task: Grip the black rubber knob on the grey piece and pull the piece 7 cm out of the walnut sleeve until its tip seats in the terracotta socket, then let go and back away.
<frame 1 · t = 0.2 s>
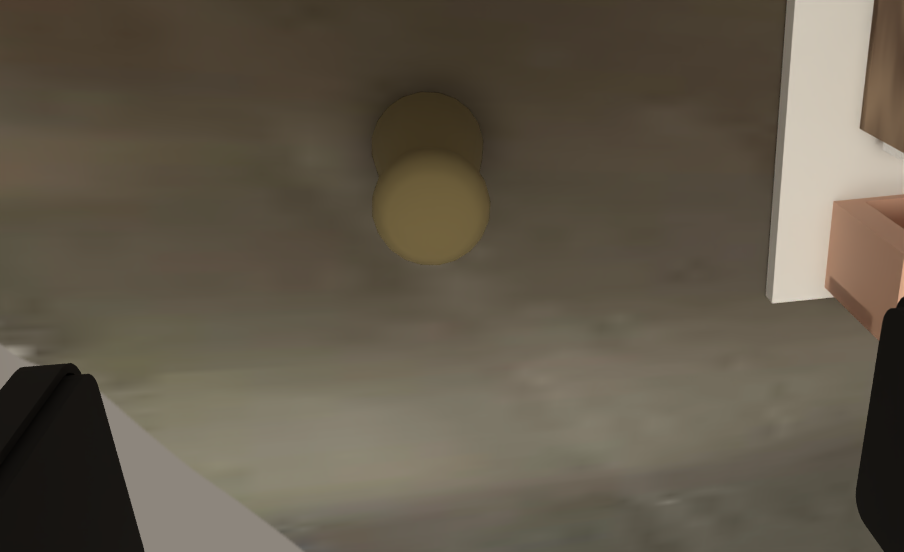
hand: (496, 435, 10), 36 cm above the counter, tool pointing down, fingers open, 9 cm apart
terracotta socket: (900, 227, 48), resting on grey base board
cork: (427, 146, 46), on the counter
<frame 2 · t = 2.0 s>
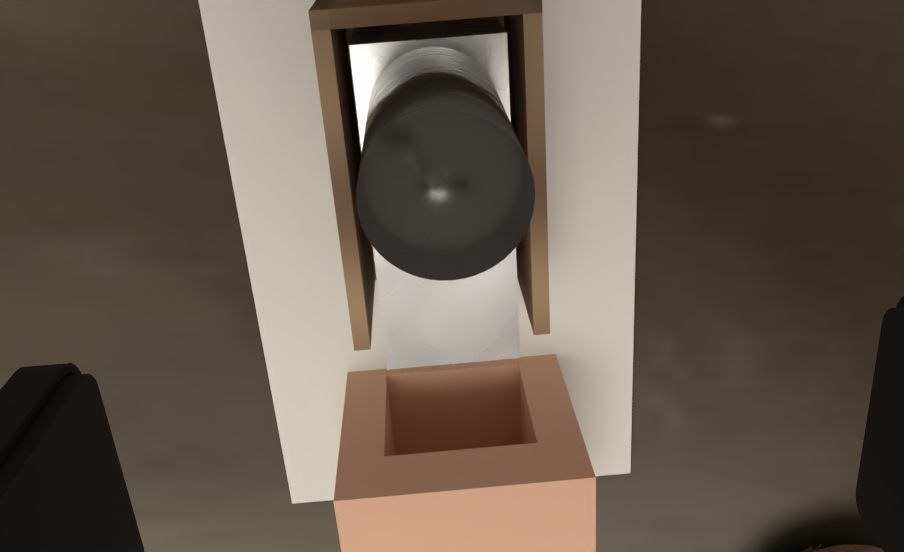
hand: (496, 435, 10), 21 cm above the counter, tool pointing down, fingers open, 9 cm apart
walnut sleeve: (433, 134, 29), resting on grey base board
grey base board: (443, 257, 32), on the counter
grey piece: (444, 233, 24), point 7 cm above the counter, slide at 0.0 cm
terracotta socket: (455, 406, 34), resting on grey base board
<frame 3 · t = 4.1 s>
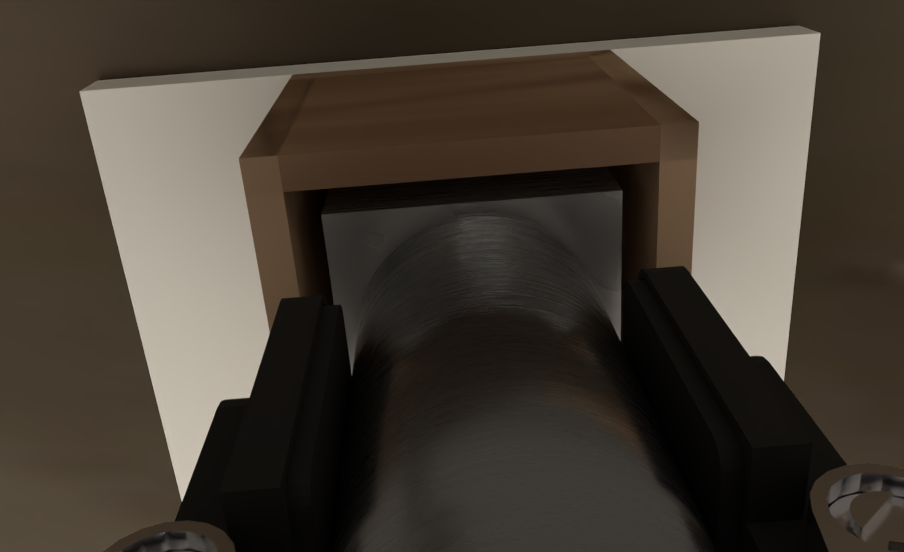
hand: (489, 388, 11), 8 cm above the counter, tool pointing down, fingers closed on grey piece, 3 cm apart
walnut sleeve: (467, 300, 18), resting on grey base board
grey base board: (478, 463, 21), on the counter
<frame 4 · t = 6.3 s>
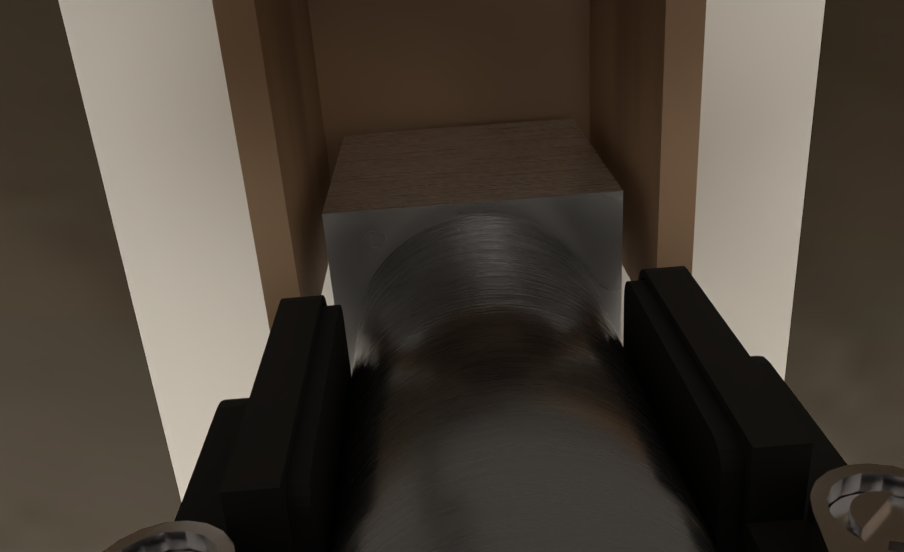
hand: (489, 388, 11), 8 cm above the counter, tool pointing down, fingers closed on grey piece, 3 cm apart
grey base board: (459, 192, 18), on the counter
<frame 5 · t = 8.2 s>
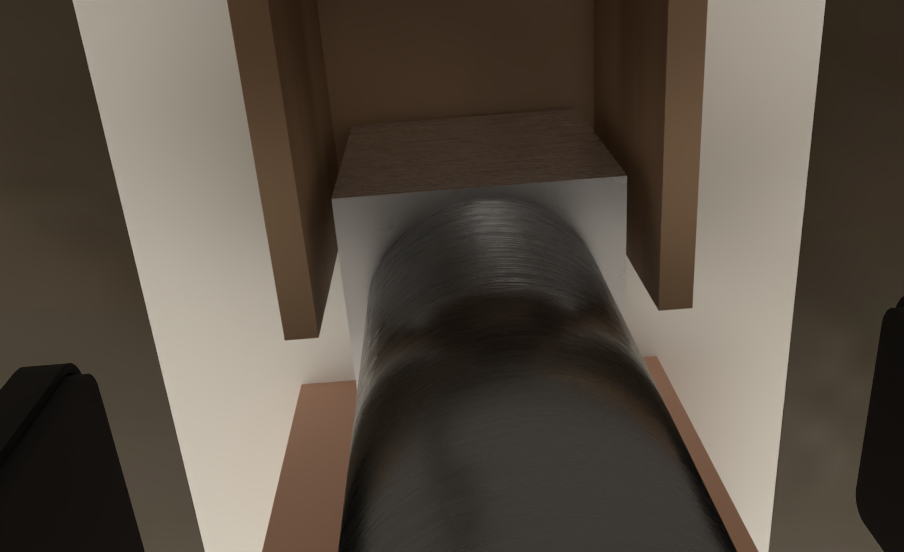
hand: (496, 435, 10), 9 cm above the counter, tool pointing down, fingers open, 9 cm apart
grey base board: (465, 186, 19), on the counter
grey piece: (504, 533, 13), point 7 cm above the counter, slide at 7.0 cm
terracotta socket: (484, 444, 20), resting on grey base board
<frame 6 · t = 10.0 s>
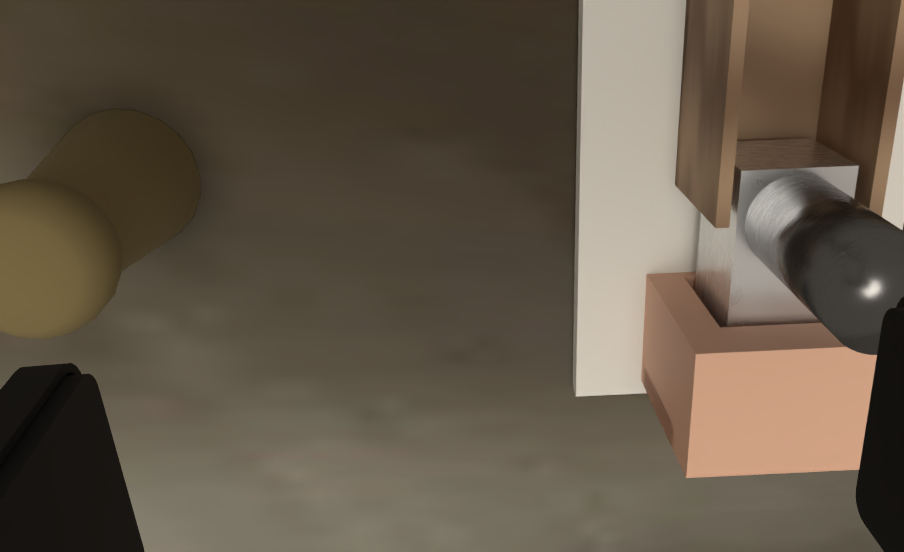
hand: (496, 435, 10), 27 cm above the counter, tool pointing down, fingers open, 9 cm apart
walnut sleeve: (757, 60, 34), resting on grey base board
grey base board: (738, 174, 37), on the counter
grey piece: (799, 312, 31), point 8 cm above the counter, slide at 7.0 cm
terracotta socket: (733, 311, 38), resting on grey base board
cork: (130, 178, 37), on the counter
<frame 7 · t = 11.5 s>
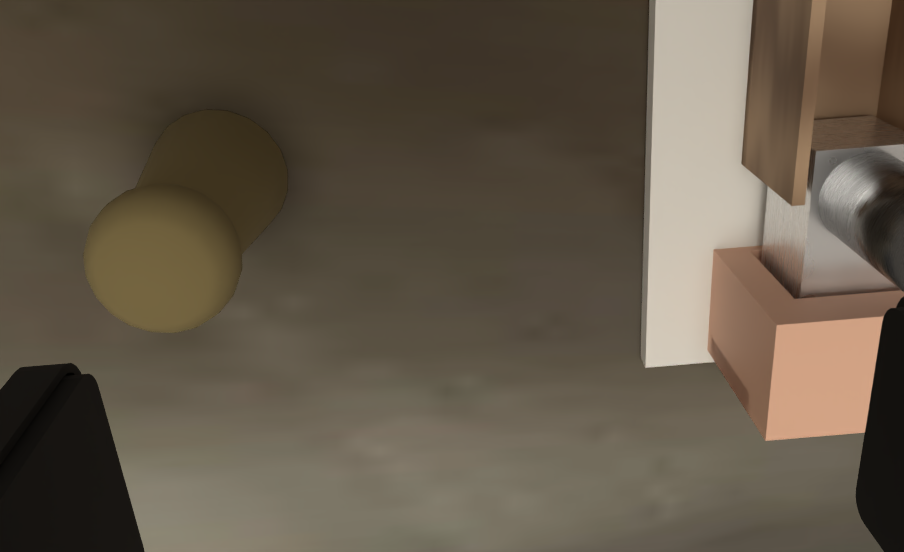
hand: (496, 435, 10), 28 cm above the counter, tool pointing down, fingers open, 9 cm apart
walnut sleeve: (821, 42, 36), resting on grey base board
grey base board: (799, 152, 39), on the counter
grey piece: (871, 282, 33), point 7 cm above the counter, slide at 7.0 cm
terracotta socket: (795, 281, 40), resting on grey base board
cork: (220, 175, 38), on the counter
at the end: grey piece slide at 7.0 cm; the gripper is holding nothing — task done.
